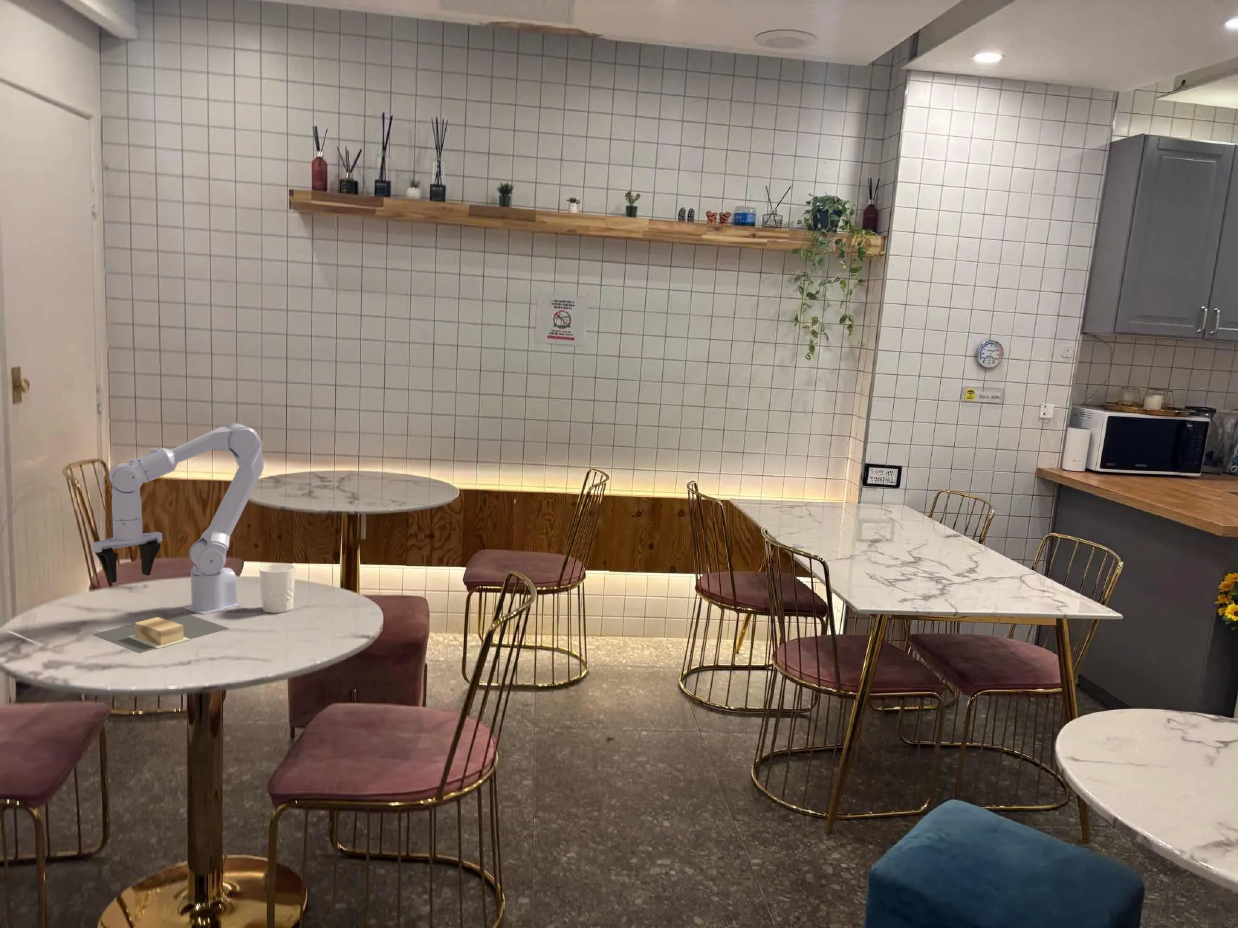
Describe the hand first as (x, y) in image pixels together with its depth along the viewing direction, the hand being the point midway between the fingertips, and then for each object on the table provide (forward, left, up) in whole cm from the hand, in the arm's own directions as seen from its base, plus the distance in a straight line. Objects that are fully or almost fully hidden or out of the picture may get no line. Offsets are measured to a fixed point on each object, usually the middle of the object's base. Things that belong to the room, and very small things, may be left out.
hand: (129, 578), depth 202 cm
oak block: (+4, +18, -9) cm, 21 cm away
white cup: (-25, +18, -10) cm, 32 cm away
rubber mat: (+1, +14, -9) cm, 17 cm away
